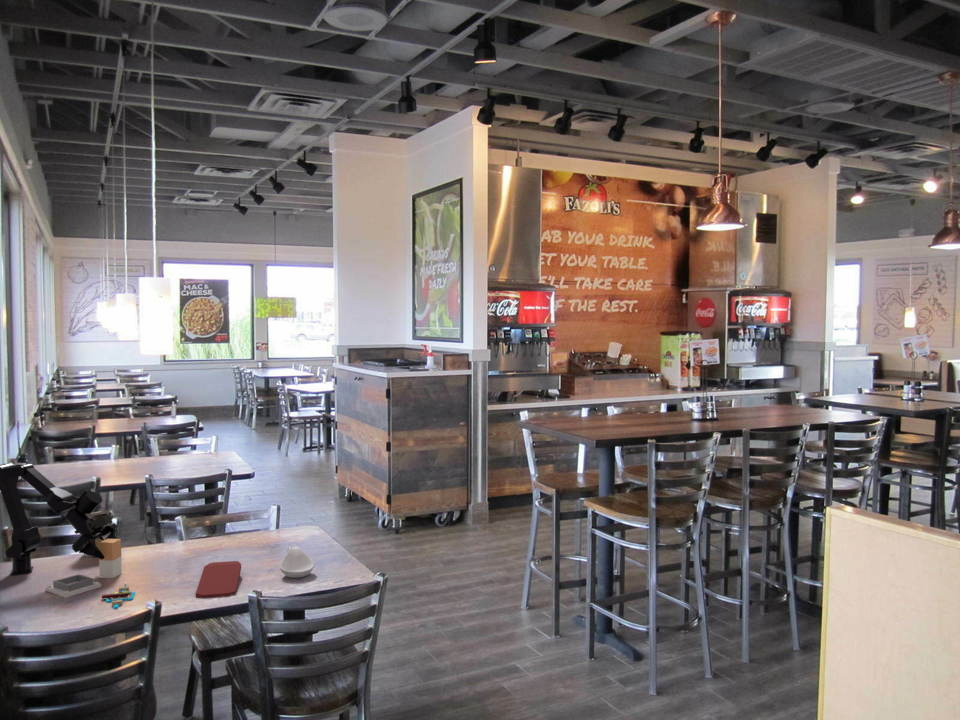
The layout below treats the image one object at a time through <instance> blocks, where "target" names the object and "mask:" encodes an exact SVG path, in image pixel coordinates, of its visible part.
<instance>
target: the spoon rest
mask: <svg viewBox="0 0 960 720" xmlns="http://www.w3.org/2000/svg"><path fill="white" fill-rule="evenodd" d="M279 564H280V565H279V570H280V571H281V573H282V574H283V575H285V576H286V577H288V578H290V579H292V578H293V579H298V578H300V579H301V578H304V577H307V576H308V575H310V574H311V572H312V571H313V569H314V568H315V563H314V561H313V560H312V559H311V558H309V556H308V555H307V554H306V553H305V552H304V551H303V550H302V549H301V548H300V547H299V546H297V545H296V546H294V547H293V546H292V547H291V546H289V547H288V549H287V553H286V555H285V556H284V557H283V559H282V561H281V562H280V563H279Z"/></svg>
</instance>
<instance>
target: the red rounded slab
mask: <svg viewBox="0 0 960 720" xmlns="http://www.w3.org/2000/svg"><path fill="white" fill-rule="evenodd" d="M241 570H242V563H241V562H240V561H239V560H238V561H237V560H232V561H231V560H229V561H217V562H209V563H208V564H206V565H204V567H203V570H202V573H201V576H200V579H199V582H198V585H197V589H196V591H195V597H196V598H203V599H204V598H217V597H229V596H234V595H236V594H237V589H238V586H239V585H238V584H239V579H240V576H241Z"/></svg>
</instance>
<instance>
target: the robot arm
mask: <svg viewBox="0 0 960 720" xmlns="http://www.w3.org/2000/svg"><path fill="white" fill-rule="evenodd" d="M19 477H21V478H22V479H23V480H24V481H26V483H28V484H29V485H30V486H31V487H32V488H34V489H35V490H36V491H37V492H38V493H40V495H42V496H43V497H44V499H45V501H46V504H47V505H48V506H49V508H50V509H51V510H52V512H54V513H56V514H61V513H63V512H66V511H67V512H66V513H64V514H61V515H60V516H61V519H60V523H61V524H62V523H65V522H68V524H70V526H71V527H72V528H74V529H75V530H74V534H75V535H77V534H79V535H80V536H79V537H78V538H77V539H76V540H75V541H74V543H72V544H71V549H72V550H73V551H74V553H75V554H76V553H79V554H83V555H84V554H87V555H91V556H94V557H93V558H96V559H98V560H99V559H104V558H105V557H104V555H103V554H102V552H101V551H100V550H99V549H98V547H97V546H96V545H95V540H96V539H98V538H99V539H100V540H106V539H118V538H117V532H118V529H119V526H118V525H117V524H116V523H113V519H114V515H113V514H112V515H111V514H110V513H109V512H106V513H104V514H102V517H100V518H98V519H95V518H90V517H89V516H88V515H87V514H90V513H92V512H95V510H96V509H97V508H98V507H99V505H101V504H102V502H103V498H102V495H100V494H99V493H97V492H95V491H91V490H90V489H86V490H84V491H83V492H82V494H81V495H80V496H75V495H74V494H73V493H71V492H70V491H67V490H66V489H62V488H60V487H58V486H56V485H55V484H54V483H52V481H50V480H49V479H48V478H46V476H45V475H43V474H42V473H41V472H40V471H39V470H37V469H36V468H35V466H34V465H33V464H32V463H25V464H24V463H23V464H22V463H21V464H13V463H11V462H8V463H3V464H0V493H1V496H2V499H3V502H4V504H5V507H6V511H7V514H8V518H9V520H10V523H11V525H12V532H11V538H10V539H11V545H10V546H9V547H8V549H7V550H5V552H4V553H5V556H6V558H7V559H9V558H10V559H12V560H11V566H12V569H11V571H10V573H9V574H10V575H11V576H12V575H13V576H14V575H22V574H29V573H32V571H33V569H34V566H32V553H35V552H36V551H37V549H38V546H39V544H40V543H41V537H42V535H41V534H40V532H39V531H40V530H39V528H38V526H34V527H33V525H31V524H30V523H29V519H28V516H27V514H26V511H25V508H24V505H23V502H22V498H21V495H20V493H19V490H18V487H17V486H18V482H19ZM108 523H111V524H109V525H107V526H105V527H104V525H106V524H108ZM103 528H104V529H103ZM102 529H103V530H102ZM101 530H102V531H101Z"/></svg>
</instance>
